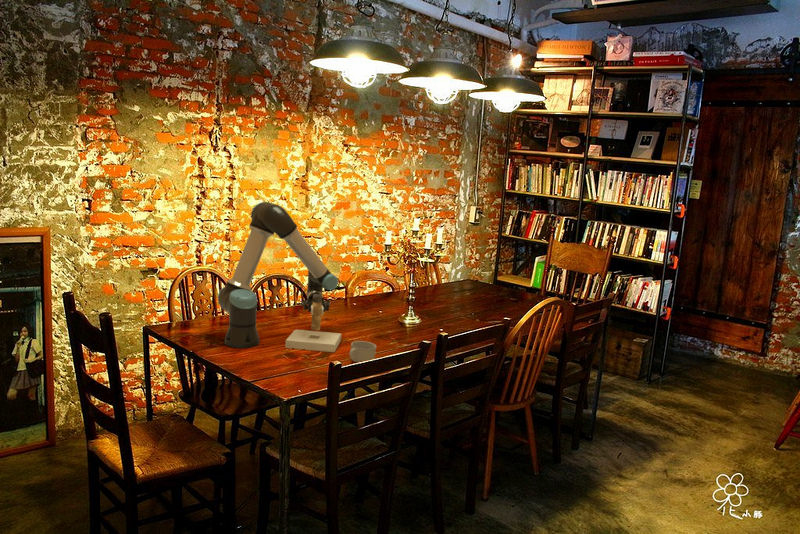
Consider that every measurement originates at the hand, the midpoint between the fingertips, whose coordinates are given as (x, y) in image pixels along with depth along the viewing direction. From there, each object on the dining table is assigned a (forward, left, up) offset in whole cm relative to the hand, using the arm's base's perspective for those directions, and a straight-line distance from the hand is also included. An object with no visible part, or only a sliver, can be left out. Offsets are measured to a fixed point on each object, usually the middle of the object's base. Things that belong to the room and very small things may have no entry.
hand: (317, 311), depth 279 cm
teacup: (+22, -15, -17) cm, 32 cm away
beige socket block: (-2, +5, -17) cm, 18 cm away
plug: (-1, +5, -10) cm, 11 cm away
